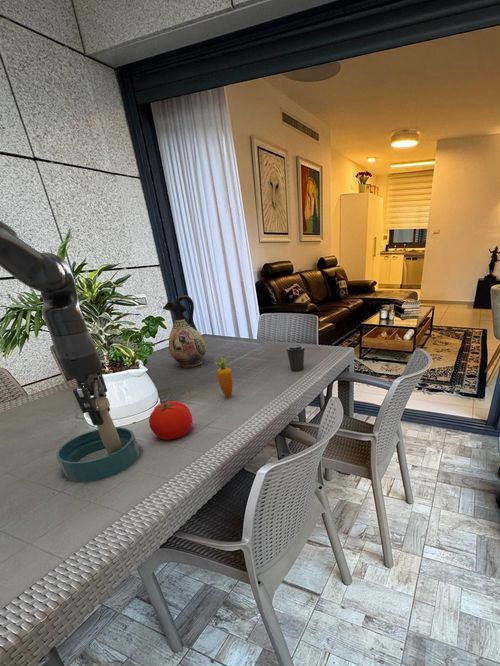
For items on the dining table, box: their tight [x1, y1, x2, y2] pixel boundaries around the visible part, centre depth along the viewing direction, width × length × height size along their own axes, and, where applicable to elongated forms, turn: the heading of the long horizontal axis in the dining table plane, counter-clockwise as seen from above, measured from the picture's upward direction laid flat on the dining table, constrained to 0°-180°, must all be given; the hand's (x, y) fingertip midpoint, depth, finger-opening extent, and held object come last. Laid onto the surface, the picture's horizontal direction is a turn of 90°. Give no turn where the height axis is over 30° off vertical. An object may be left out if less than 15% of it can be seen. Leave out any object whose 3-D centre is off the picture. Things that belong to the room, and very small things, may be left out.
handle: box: [88, 396, 122, 455], centre depth 88 cm, size 5×6×15 cm
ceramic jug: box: [162, 294, 207, 368], centre depth 153 cm, size 17×15×30 cm
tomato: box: [148, 399, 193, 441], centre depth 101 cm, size 12×12×10 cm
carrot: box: [214, 356, 233, 399], centre depth 122 cm, size 5×5×15 cm
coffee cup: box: [285, 344, 306, 372], centre depth 147 cm, size 8×8×10 cm
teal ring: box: [56, 426, 141, 482], centre depth 91 cm, size 17×17×6 cm
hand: (102, 417), depth 87 cm, fingers closed on handle, 6 cm apart
